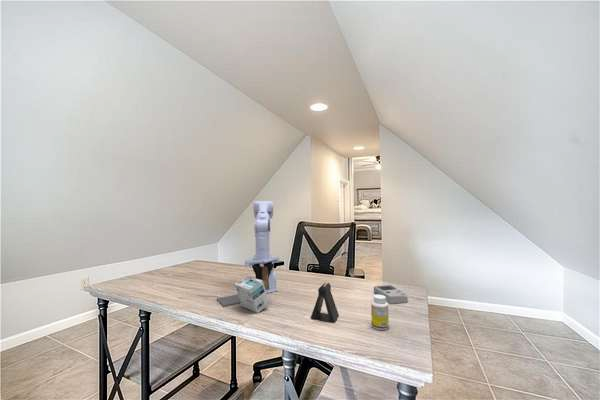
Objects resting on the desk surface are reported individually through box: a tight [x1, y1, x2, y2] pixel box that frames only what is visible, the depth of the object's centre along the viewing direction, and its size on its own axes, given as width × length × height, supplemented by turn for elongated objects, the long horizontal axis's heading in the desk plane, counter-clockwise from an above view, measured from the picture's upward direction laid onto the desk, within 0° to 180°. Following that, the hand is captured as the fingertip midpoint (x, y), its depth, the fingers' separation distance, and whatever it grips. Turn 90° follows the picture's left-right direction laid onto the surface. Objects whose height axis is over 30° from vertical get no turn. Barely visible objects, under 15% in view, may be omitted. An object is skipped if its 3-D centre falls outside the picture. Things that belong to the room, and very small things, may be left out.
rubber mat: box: [216, 293, 241, 308], centre depth 115 cm, size 12×10×1 cm
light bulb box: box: [234, 275, 271, 314], centre depth 105 cm, size 11×7×11 cm, turn 47°
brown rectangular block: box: [255, 266, 269, 290], centre depth 109 cm, size 2×6×9 cm, turn 38°
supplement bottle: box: [370, 294, 390, 331], centre depth 89 cm, size 6×6×10 cm
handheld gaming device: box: [373, 284, 408, 305], centre depth 118 cm, size 9×15×4 cm, turn 11°
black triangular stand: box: [310, 282, 339, 324], centre depth 97 cm, size 9×6×12 cm, turn 67°
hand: (262, 281), depth 109 cm, fingers closed on brown rectangular block, 3 cm apart
